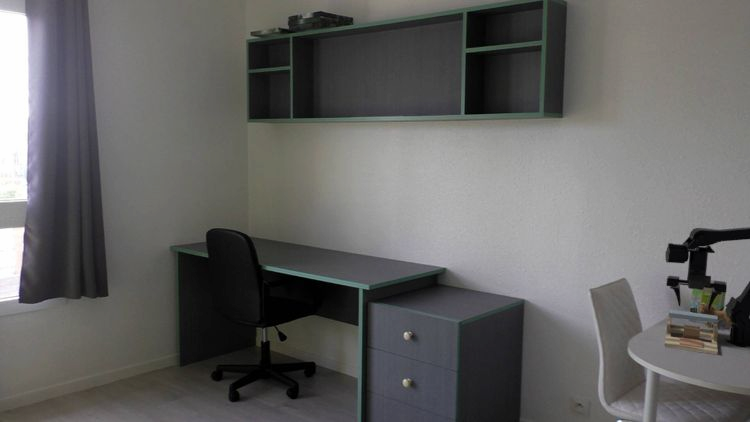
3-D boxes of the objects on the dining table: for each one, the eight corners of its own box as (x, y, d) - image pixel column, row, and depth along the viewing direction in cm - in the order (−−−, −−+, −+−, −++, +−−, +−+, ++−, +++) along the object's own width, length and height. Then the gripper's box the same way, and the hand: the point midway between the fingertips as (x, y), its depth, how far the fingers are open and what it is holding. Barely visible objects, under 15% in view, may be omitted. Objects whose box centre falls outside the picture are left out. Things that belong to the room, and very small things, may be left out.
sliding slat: (717, 323, 231) (717, 319, 230) (668, 316, 238) (668, 312, 238) (717, 320, 235) (717, 315, 235) (669, 313, 242) (669, 309, 242)
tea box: (716, 325, 245) (720, 288, 243) (688, 320, 251) (691, 283, 249) (723, 317, 257) (727, 281, 255) (696, 312, 263) (699, 277, 261)
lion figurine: (696, 327, 243) (698, 303, 242) (694, 323, 248) (696, 300, 247) (740, 331, 239) (742, 308, 237) (737, 327, 244) (739, 304, 242)
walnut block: (698, 342, 225) (700, 330, 224) (683, 340, 227) (684, 327, 227) (698, 338, 229) (699, 326, 229) (683, 336, 232) (684, 324, 231)
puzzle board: (717, 354, 212) (718, 341, 212) (664, 346, 219) (665, 333, 219) (715, 334, 235) (716, 321, 234) (667, 327, 242) (668, 314, 241)
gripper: (667, 265, 222) (663, 309, 224) (728, 271, 214) (724, 317, 216) (668, 259, 232) (665, 302, 234) (727, 265, 224) (723, 309, 225)
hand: (694, 307), depth 227 cm, fingers open, 9 cm apart
